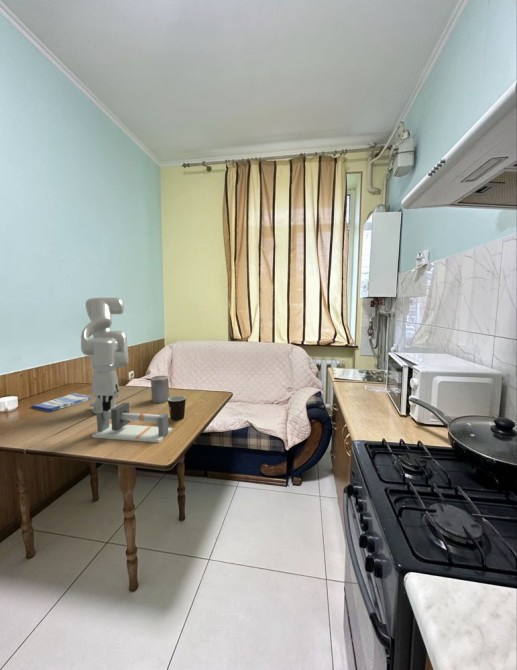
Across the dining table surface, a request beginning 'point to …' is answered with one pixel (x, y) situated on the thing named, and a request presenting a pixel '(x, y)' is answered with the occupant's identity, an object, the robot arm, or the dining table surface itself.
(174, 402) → the coffee mug
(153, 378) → the pillar candle
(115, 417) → the collar
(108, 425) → the pipe rig
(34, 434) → the dining table surface
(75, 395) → the dish towel
